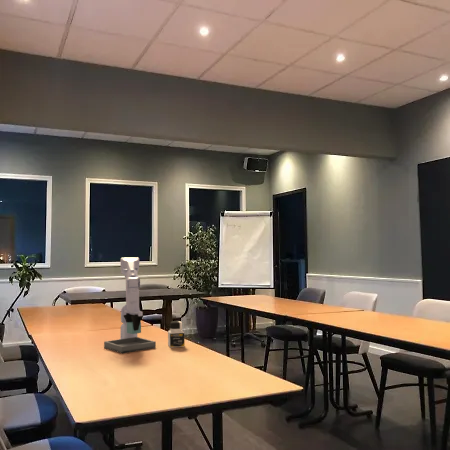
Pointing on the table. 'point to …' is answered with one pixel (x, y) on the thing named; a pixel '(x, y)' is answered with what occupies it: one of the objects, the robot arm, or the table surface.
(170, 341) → the medicine bottle
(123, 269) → the robot arm
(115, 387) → the table surface
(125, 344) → the charcoal tray
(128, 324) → the teal block
